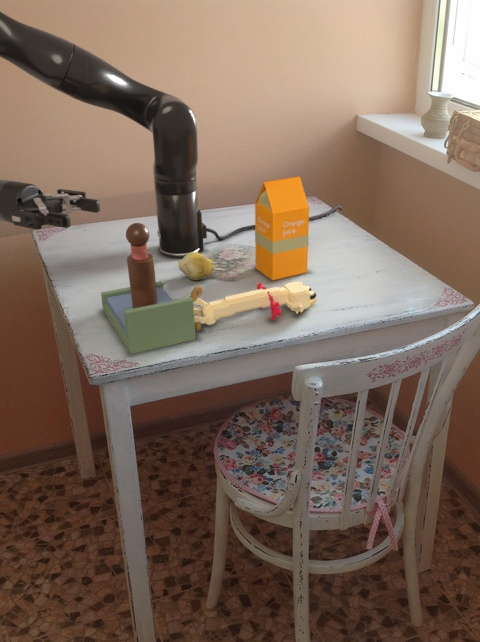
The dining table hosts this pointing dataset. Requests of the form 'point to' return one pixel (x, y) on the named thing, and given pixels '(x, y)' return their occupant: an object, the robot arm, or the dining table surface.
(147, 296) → the skittle
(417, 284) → the dining table surface
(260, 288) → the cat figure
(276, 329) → the dining table surface
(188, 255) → the fruit
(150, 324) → the bed
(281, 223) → the orange juice
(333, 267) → the dining table surface
